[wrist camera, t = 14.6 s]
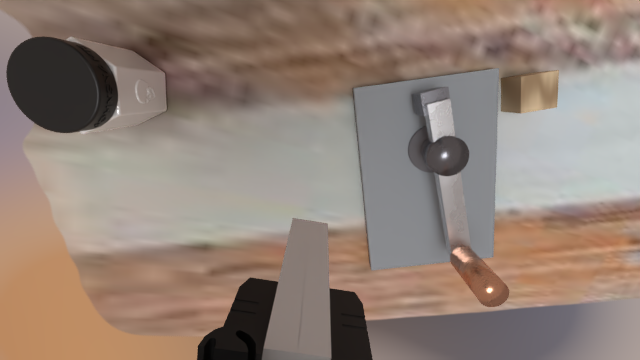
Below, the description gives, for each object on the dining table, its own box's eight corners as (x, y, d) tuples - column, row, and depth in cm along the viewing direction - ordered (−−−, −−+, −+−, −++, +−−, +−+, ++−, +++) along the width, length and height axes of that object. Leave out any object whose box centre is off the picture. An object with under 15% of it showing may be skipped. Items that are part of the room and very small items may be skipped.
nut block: (521, 76, 33) (558, 70, 33) (500, 78, 37) (534, 72, 37) (520, 113, 34) (556, 107, 34) (500, 111, 38) (533, 105, 38)
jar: (170, 127, 39) (105, 142, 27) (107, 121, 39) (15, 133, 27) (166, 53, 36) (94, 35, 25) (99, 47, 36) (-5, 25, 25)
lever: (406, 95, 35) (441, 96, 25) (443, 85, 35) (495, 81, 24) (434, 254, 41) (473, 311, 30) (466, 247, 41) (517, 302, 30)
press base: (352, 88, 37) (356, 87, 33) (491, 69, 36) (514, 65, 32) (369, 264, 44) (374, 283, 40) (487, 251, 43) (505, 269, 39)
